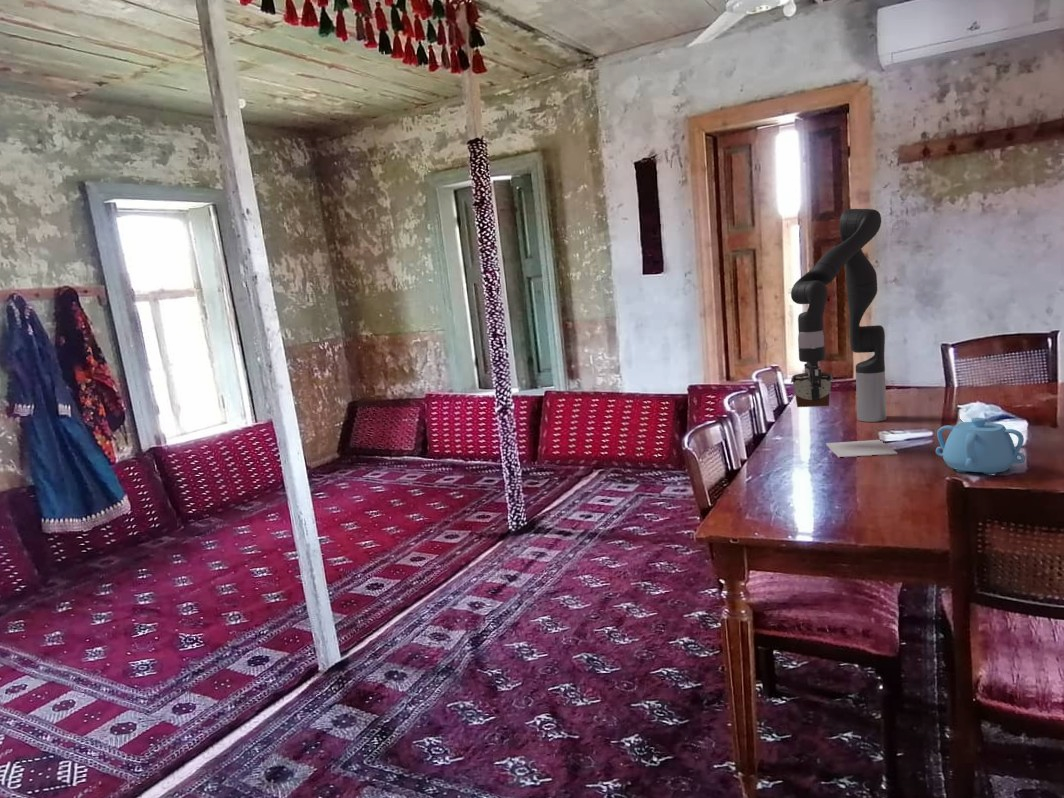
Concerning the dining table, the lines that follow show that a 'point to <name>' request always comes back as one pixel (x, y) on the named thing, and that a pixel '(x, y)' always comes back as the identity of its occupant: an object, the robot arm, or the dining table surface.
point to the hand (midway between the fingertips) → (813, 398)
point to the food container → (804, 390)
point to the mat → (861, 448)
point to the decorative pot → (980, 447)
